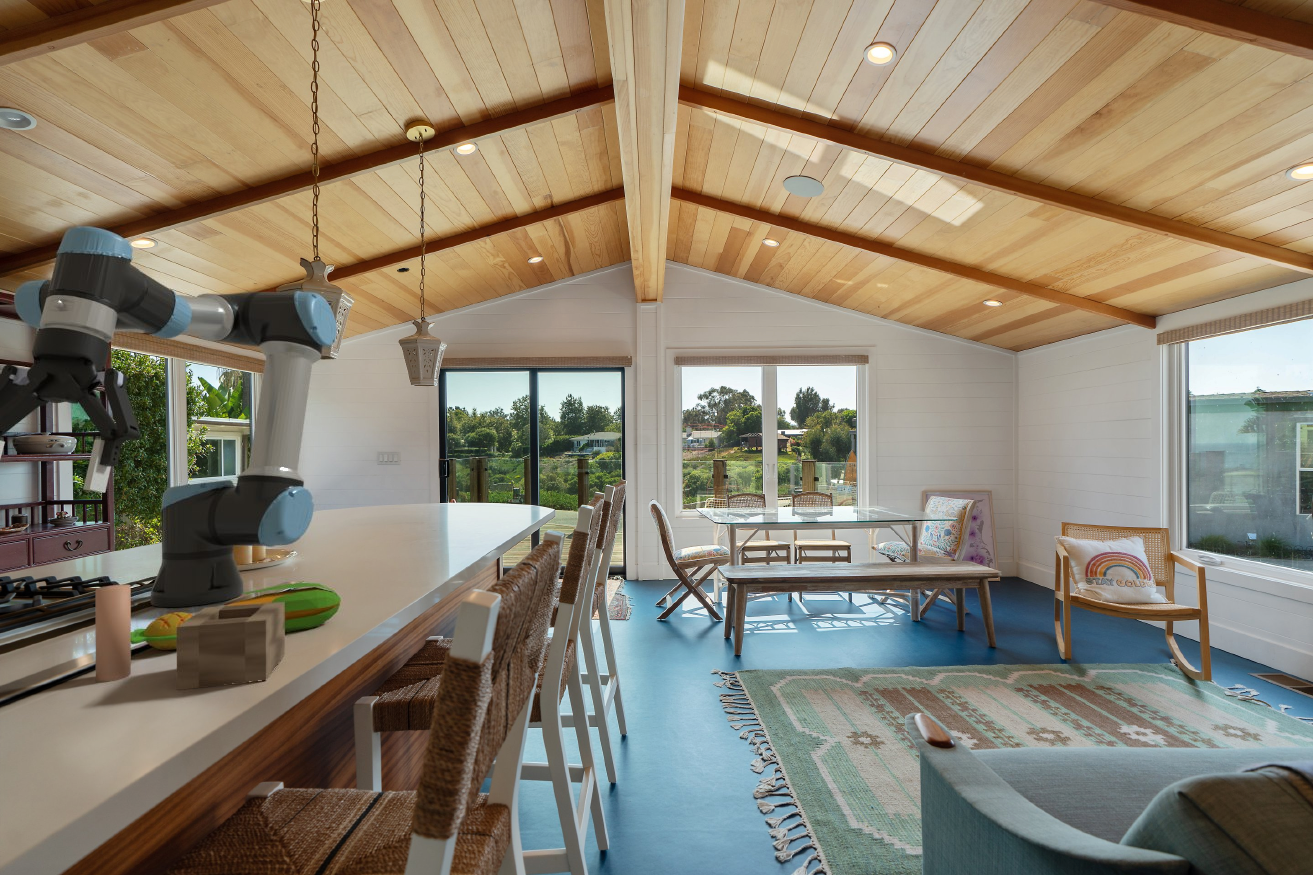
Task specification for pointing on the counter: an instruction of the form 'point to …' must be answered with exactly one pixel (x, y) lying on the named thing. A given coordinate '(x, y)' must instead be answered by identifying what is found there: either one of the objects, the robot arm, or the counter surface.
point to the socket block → (230, 645)
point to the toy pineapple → (161, 631)
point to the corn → (300, 604)
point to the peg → (113, 632)
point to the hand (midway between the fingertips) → (37, 490)
